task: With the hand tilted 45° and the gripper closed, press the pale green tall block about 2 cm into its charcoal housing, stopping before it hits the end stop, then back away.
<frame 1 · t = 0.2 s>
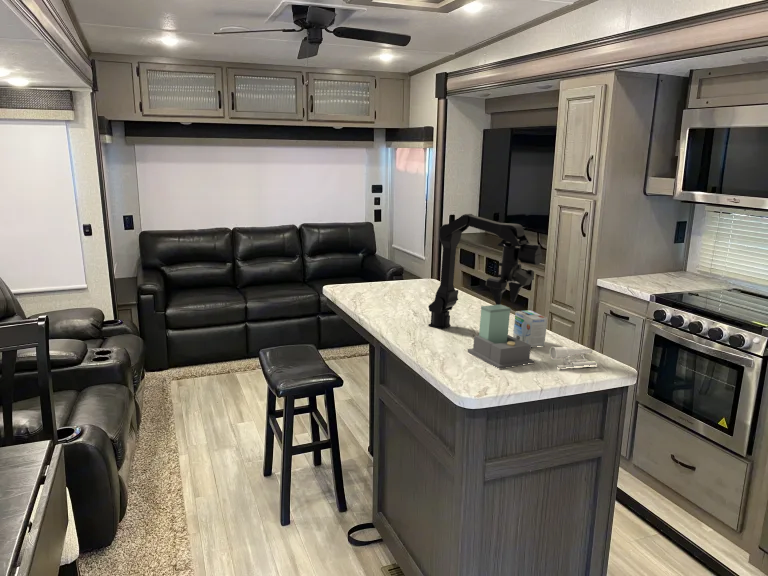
hand: (505, 304, 201), 14 cm above the table, tool pointing down, fingers open, 9 cm apart
light bulb box: (528, 343, 205), on the table
toy cannon: (573, 367, 183), on the table
switch housing: (491, 353, 192), on the table
pale green tall block: (493, 328, 190), point 9 cm above the table, slide at 0.0 cm
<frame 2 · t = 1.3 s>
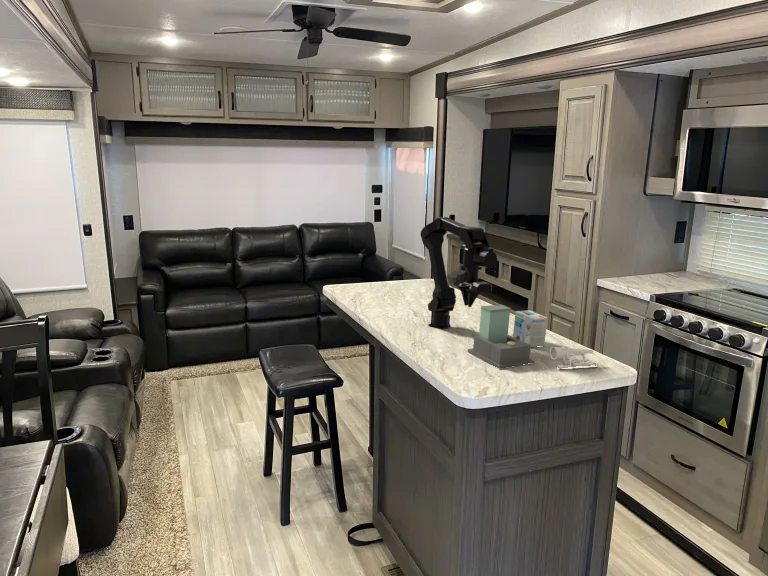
hand: (467, 306, 204), 12 cm above the table, tool pointing down, fingers closed
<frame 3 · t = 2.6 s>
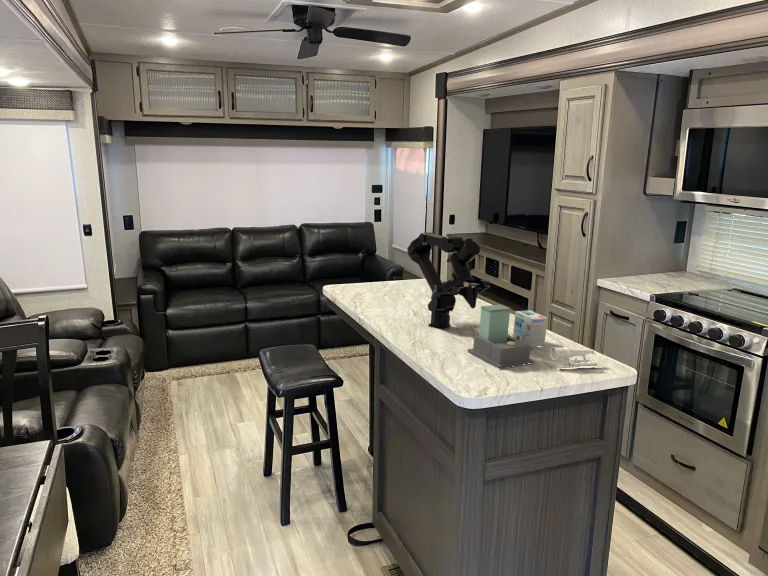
hand: (473, 308, 200), 13 cm above the table, tool tilted 35°, fingers closed
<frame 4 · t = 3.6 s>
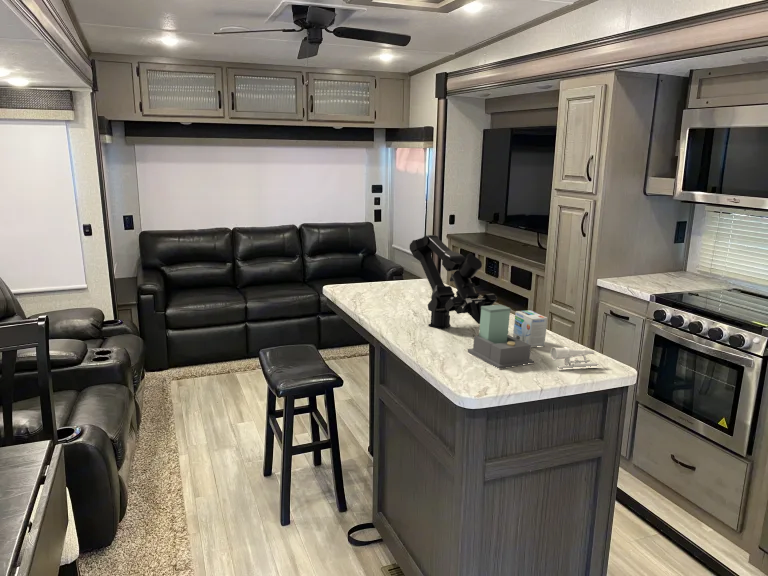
hand: (480, 323, 197), 8 cm above the table, tool tilted 45°, fingers closed
nothing on the table moved.
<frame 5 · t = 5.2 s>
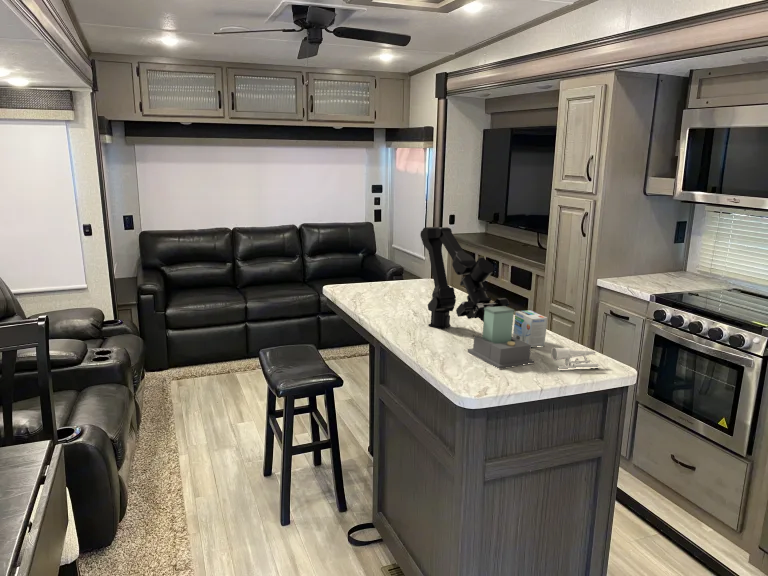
hand: (492, 328, 191), 8 cm above the table, tool tilted 45°, fingers closed, pressing on pale green tall block
pale green tall block: (497, 330, 188), point 9 cm above the table, slide at 1.9 cm, touching gripper
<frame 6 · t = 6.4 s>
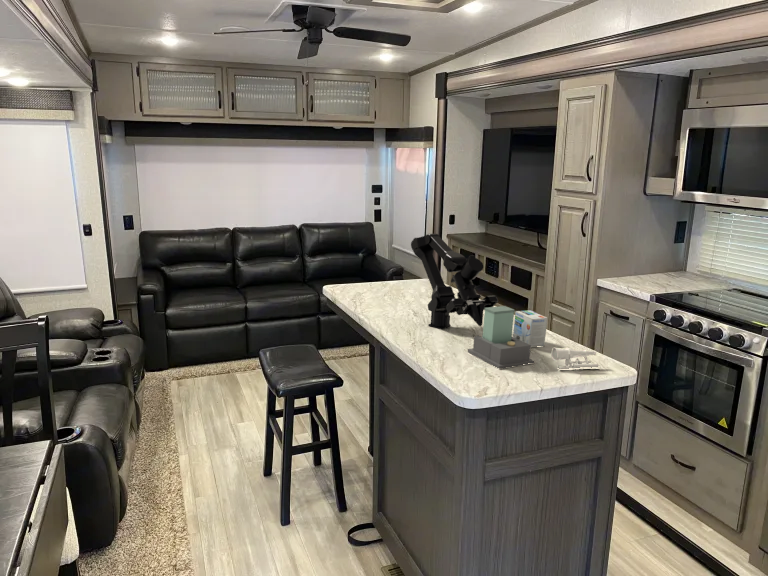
hand: (480, 325, 197), 8 cm above the table, tool tilted 45°, fingers closed
pale green tall block: (497, 330, 188), point 9 cm above the table, slide at 2.0 cm
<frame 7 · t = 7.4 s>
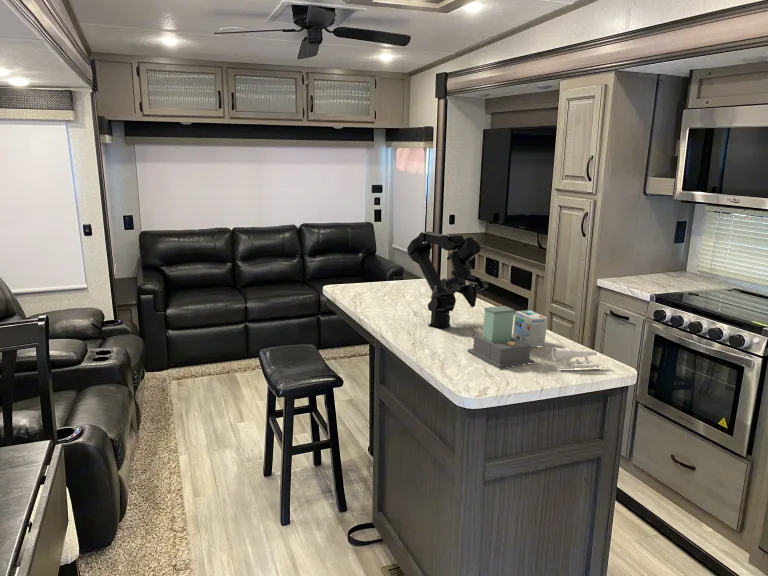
hand: (473, 306, 201), 13 cm above the table, tool tilted 35°, fingers closed
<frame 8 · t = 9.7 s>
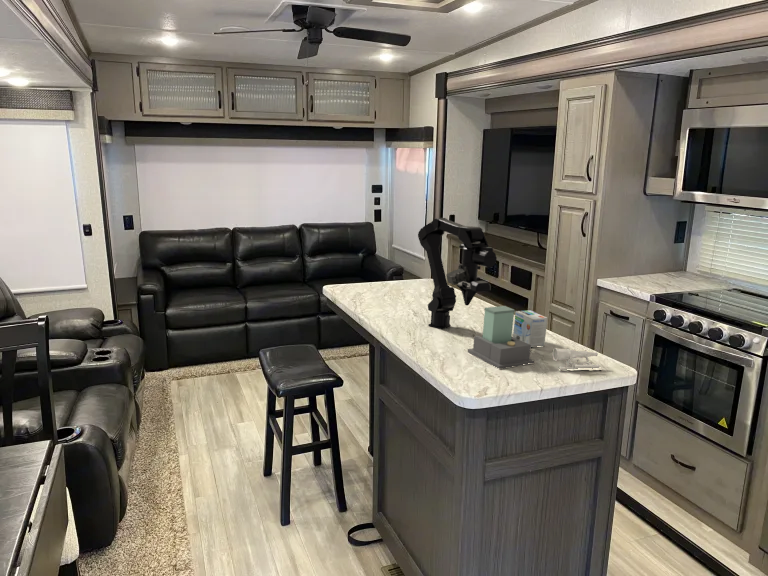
hand: (466, 305, 206), 12 cm above the table, tool pointing down, fingers closed
at the end: pale green tall block slide at 2.0 cm; light bulb box moved 0.3 cm from its start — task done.
